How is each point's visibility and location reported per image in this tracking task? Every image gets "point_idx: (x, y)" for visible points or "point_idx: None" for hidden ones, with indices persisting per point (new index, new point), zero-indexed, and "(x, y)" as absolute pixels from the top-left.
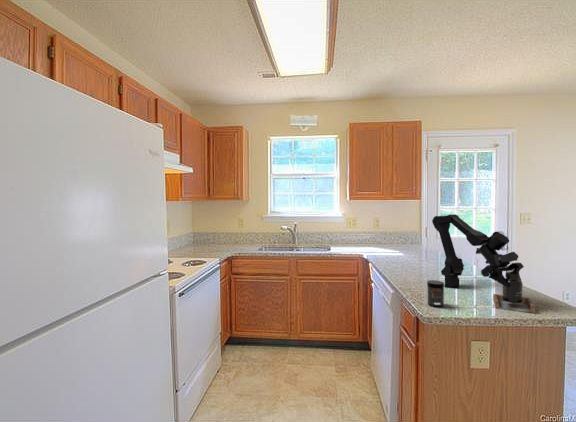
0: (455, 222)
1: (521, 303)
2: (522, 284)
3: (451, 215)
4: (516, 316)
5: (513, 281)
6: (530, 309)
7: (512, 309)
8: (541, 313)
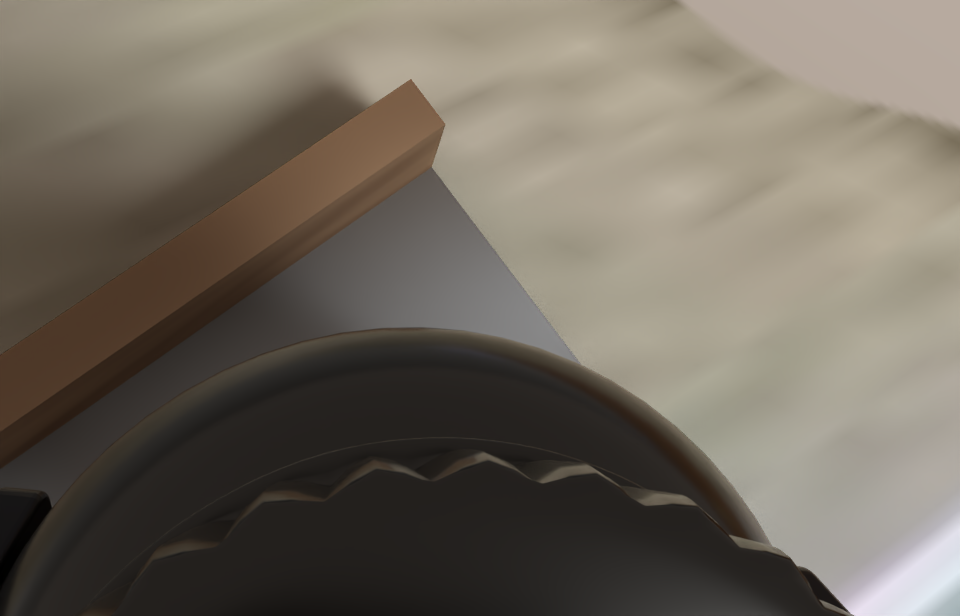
0: None
1: None
2: (13, 493)
3: None
4: (830, 206)
5: (729, 530)
6: (332, 232)
7: None
8: (268, 87)
